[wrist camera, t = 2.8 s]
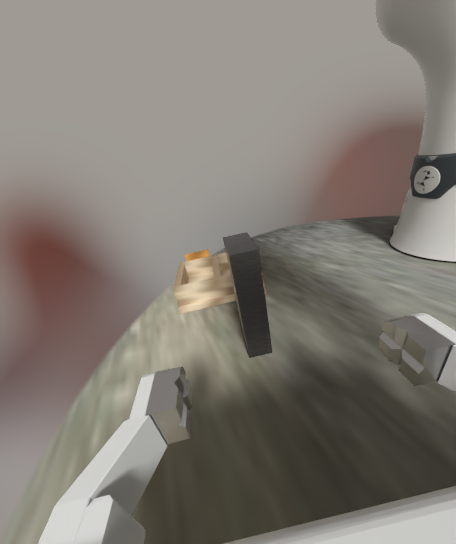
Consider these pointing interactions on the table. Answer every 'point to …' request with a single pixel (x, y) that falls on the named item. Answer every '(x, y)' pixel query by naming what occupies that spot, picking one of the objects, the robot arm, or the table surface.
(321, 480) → the table surface
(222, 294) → the wooden divided box
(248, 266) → the block
